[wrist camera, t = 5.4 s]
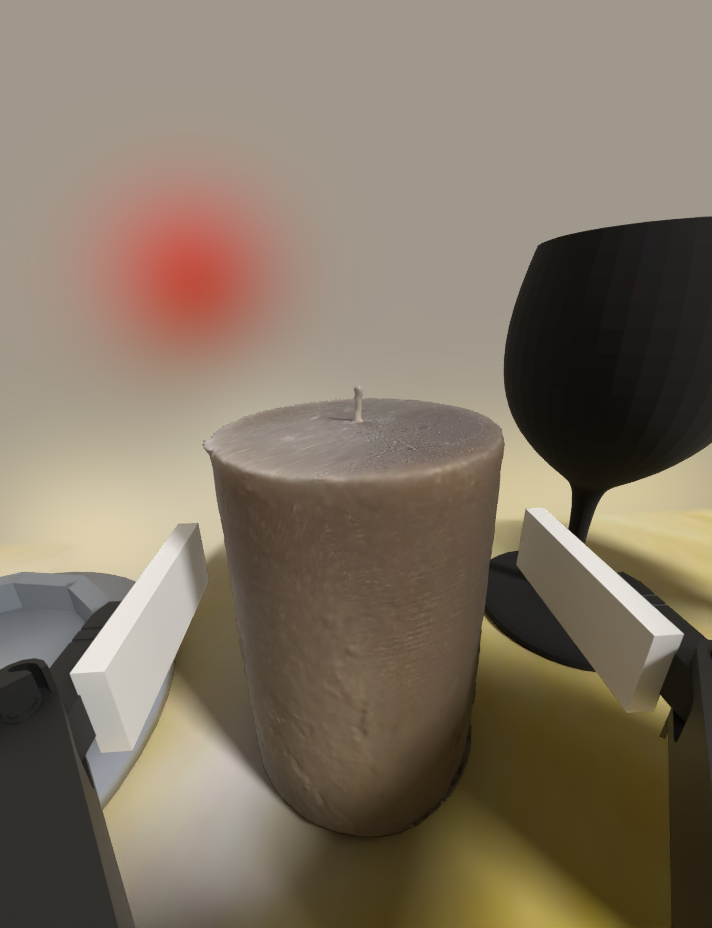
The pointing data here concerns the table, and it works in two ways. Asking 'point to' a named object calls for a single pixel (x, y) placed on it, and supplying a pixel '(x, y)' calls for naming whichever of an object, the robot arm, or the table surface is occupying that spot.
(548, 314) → the wine glass
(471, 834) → the table surface
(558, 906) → the table surface
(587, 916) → the table surface
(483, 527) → the pillar candle
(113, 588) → the candle plate
